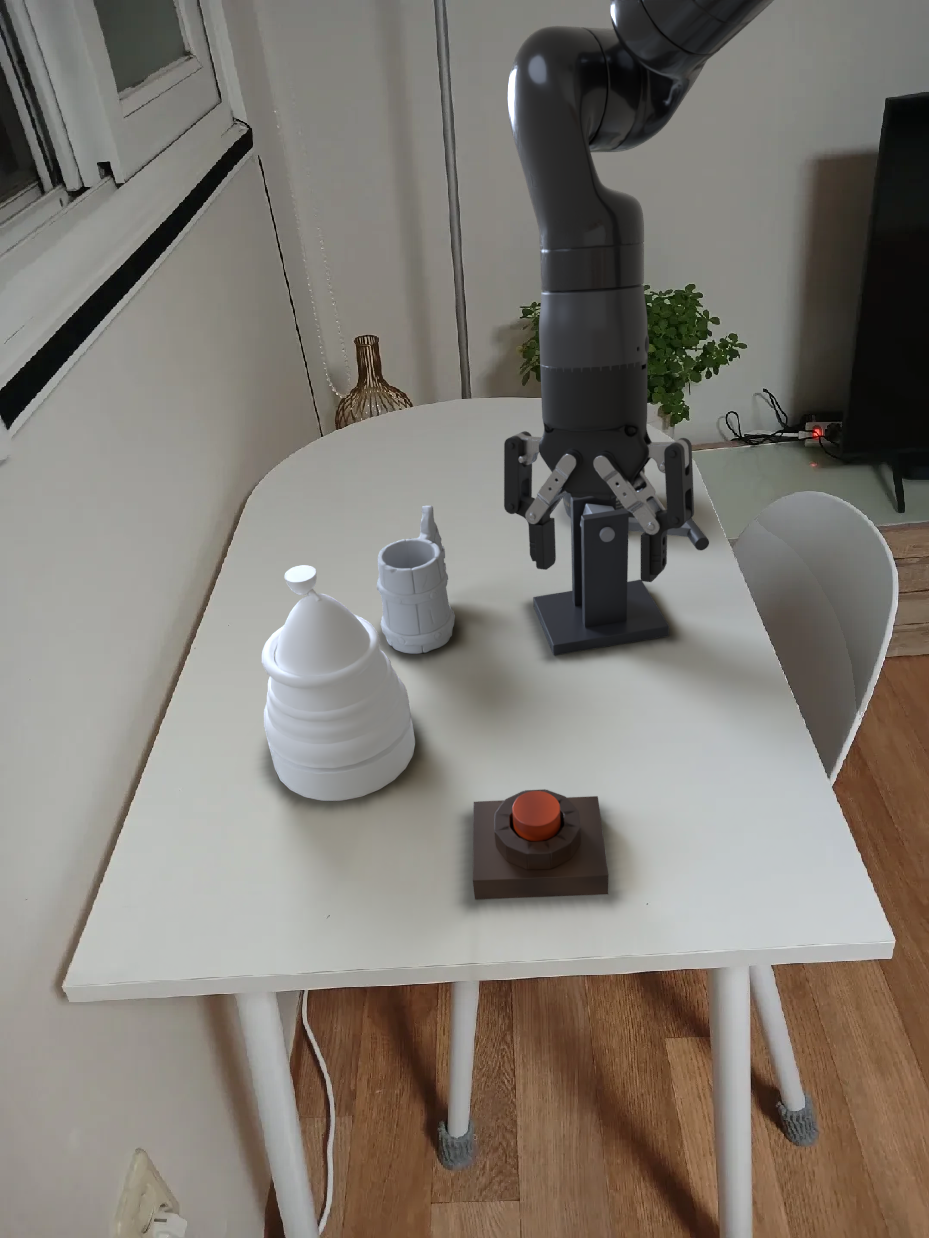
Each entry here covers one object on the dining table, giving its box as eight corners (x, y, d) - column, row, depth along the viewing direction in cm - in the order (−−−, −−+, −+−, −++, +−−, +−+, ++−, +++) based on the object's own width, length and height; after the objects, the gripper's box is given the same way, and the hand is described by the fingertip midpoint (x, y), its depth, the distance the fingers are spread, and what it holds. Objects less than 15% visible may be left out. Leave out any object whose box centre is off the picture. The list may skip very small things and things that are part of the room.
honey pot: (252, 740, 89) (206, 578, 78) (373, 685, 94) (345, 526, 83) (311, 823, 79) (268, 652, 69) (441, 757, 85) (420, 589, 74)
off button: (559, 805, 74) (558, 789, 73) (562, 840, 71) (561, 824, 70) (512, 807, 74) (511, 791, 73) (514, 842, 71) (512, 826, 70)
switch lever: (685, 528, 98) (692, 508, 97) (705, 555, 94) (713, 534, 92) (575, 517, 95) (581, 495, 94) (589, 544, 91) (596, 521, 89)
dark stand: (640, 589, 104) (644, 475, 96) (668, 636, 96) (675, 517, 89) (533, 606, 103) (527, 492, 95) (553, 655, 95) (549, 536, 87)
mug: (371, 651, 98) (354, 551, 92) (412, 589, 108) (399, 494, 101) (441, 660, 96) (429, 559, 89) (476, 596, 105) (468, 500, 98)
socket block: (597, 814, 78) (597, 779, 75) (608, 894, 71) (608, 858, 69) (475, 820, 78) (471, 785, 76) (474, 899, 72) (470, 864, 69)
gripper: (479, 363, 68) (492, 578, 74) (674, 363, 61) (671, 600, 67) (526, 349, 74) (534, 549, 80) (708, 348, 67) (702, 567, 73)
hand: (596, 572), depth 73 cm, fingers open, 8 cm apart
